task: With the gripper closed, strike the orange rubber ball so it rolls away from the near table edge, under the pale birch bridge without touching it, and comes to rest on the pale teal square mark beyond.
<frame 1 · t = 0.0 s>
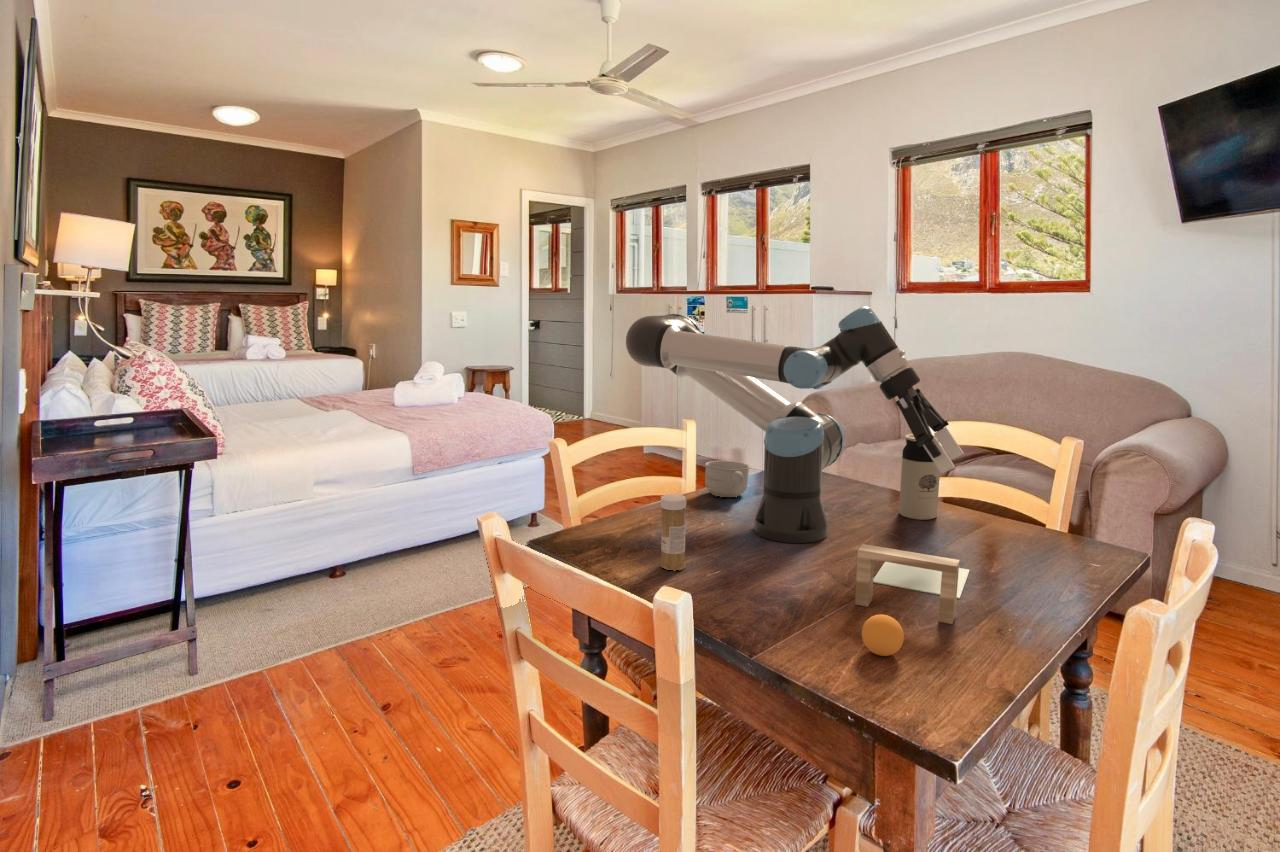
hand: (953, 463, 146), 15 cm above the table, tool tilted 35°, fingers open, 13 cm apart
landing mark: (921, 576, 127), on the table
sprinkles bottle: (673, 568, 132), on the table
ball: (882, 635, 100), on the table
teacup: (728, 497, 178), on the table
travel mug: (917, 516, 162), on the table
bridge: (904, 610, 114), on the table
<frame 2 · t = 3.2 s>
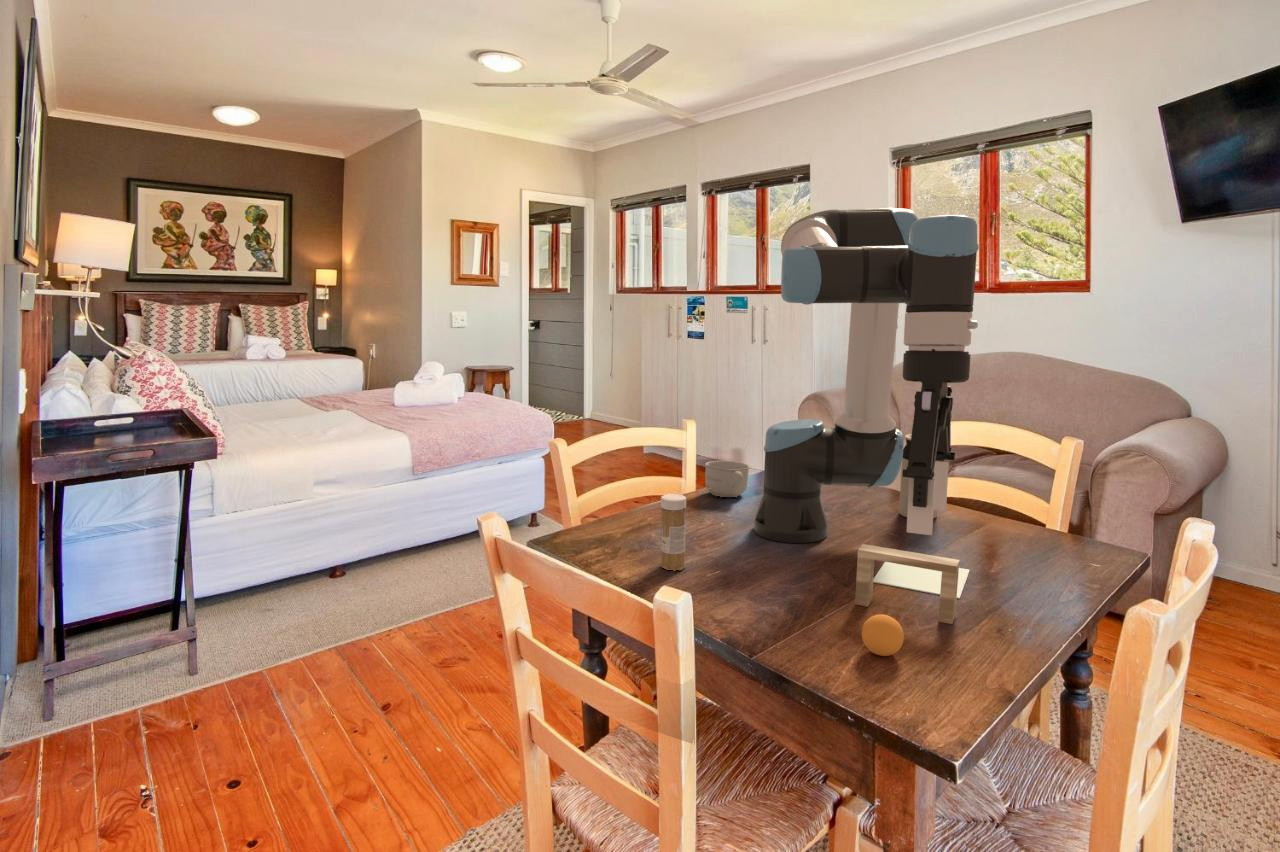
hand: (927, 520, 90), 21 cm above the table, tool pointing down, fingers open, 13 cm apart
nothing on the table moved.
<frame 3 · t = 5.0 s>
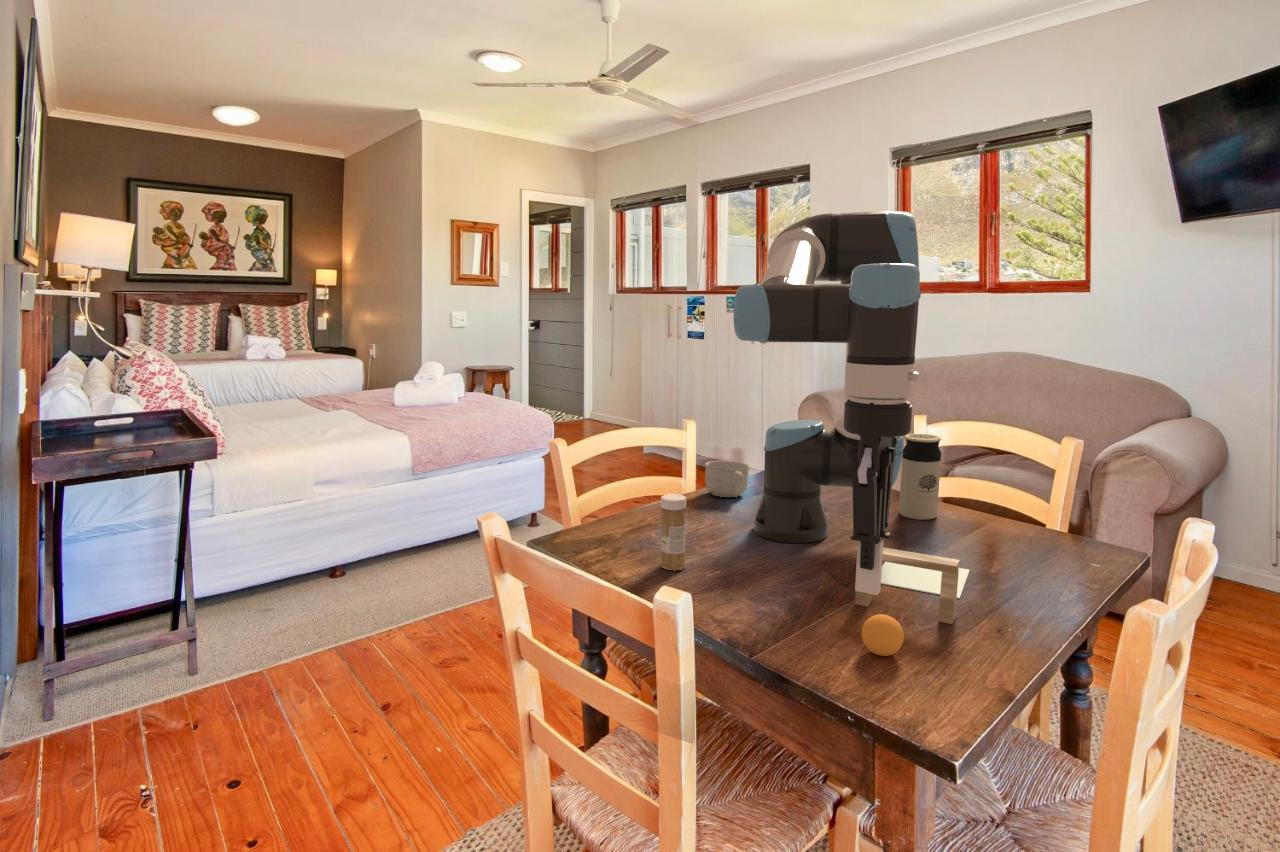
hand: (867, 590, 88), 13 cm above the table, tool pointing down, fingers closed
nothing on the table moved.
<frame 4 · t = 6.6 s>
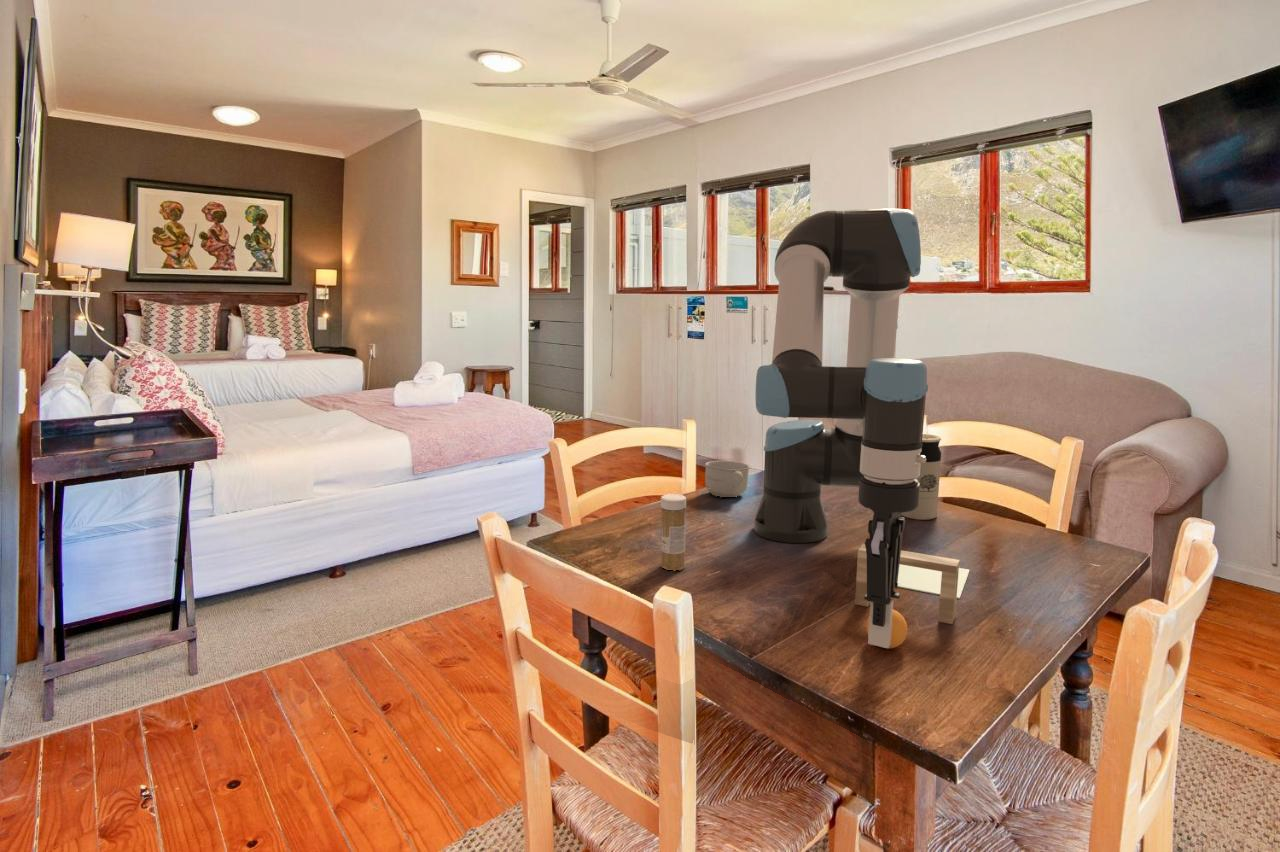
hand: (879, 643, 99), 2 cm above the table, tool pointing down, fingers closed
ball: (886, 627, 102), on the table
everything else where it was.
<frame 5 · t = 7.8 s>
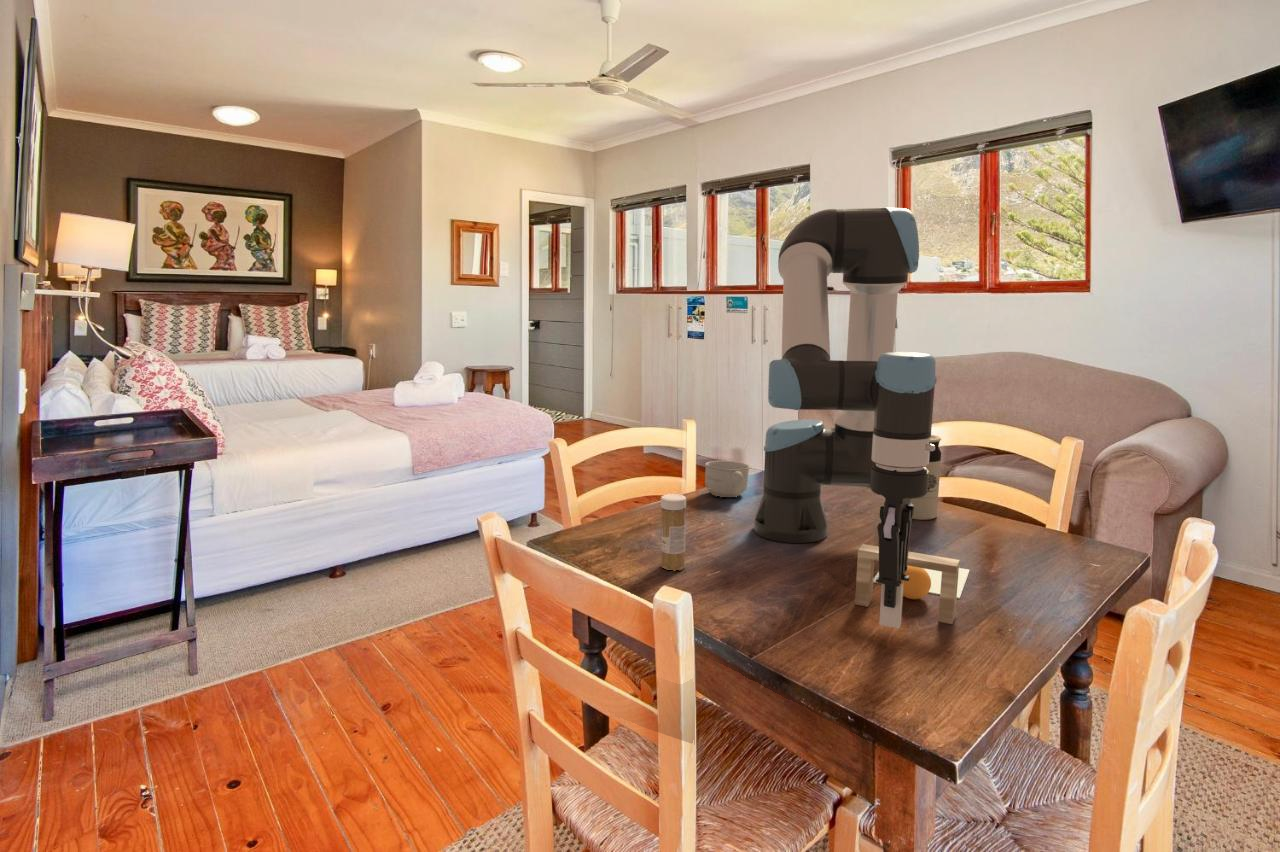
hand: (890, 624, 104), 2 cm above the table, tool pointing down, fingers closed
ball: (912, 581, 118), on the table
everything else where it was.
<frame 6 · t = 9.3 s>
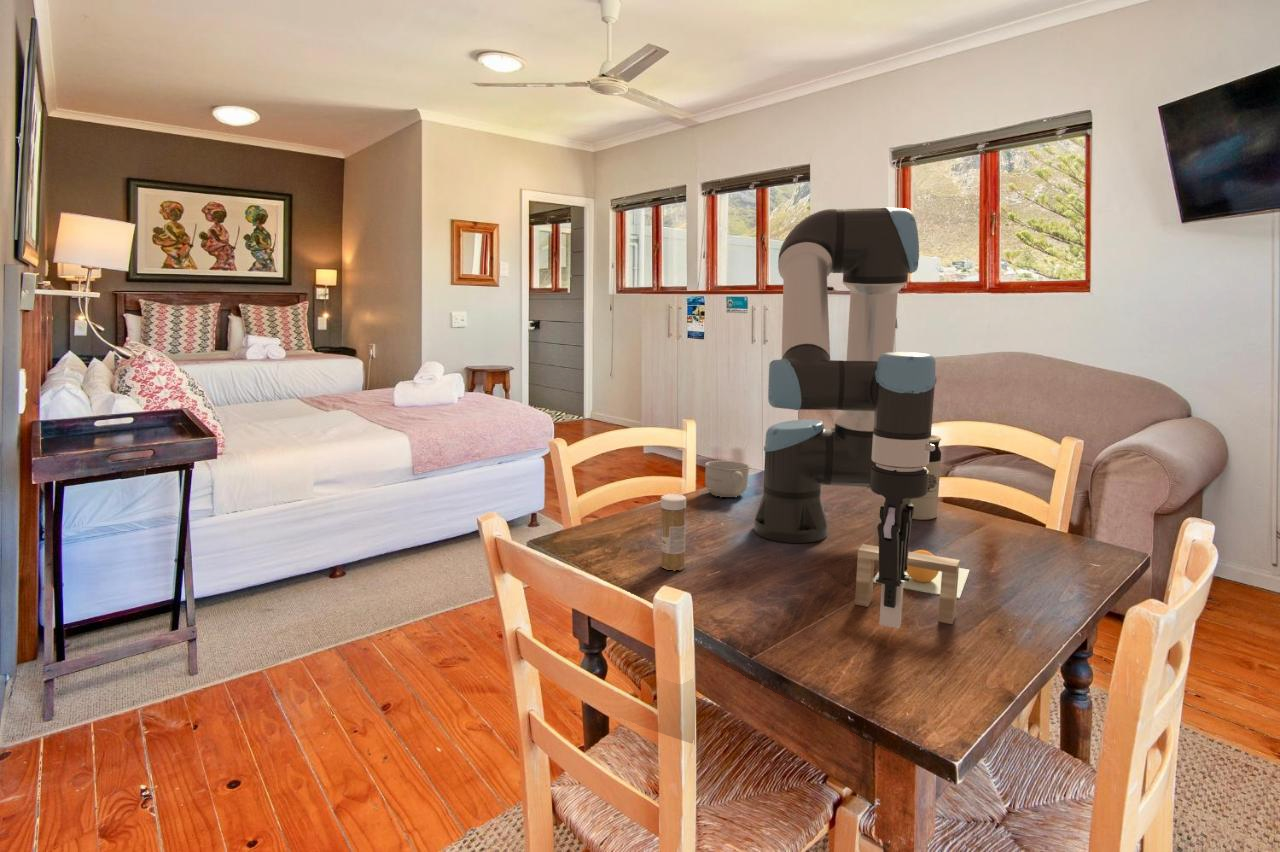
hand: (890, 624, 104), 2 cm above the table, tool pointing down, fingers closed
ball: (922, 566, 125), on the table
everything else where it was.
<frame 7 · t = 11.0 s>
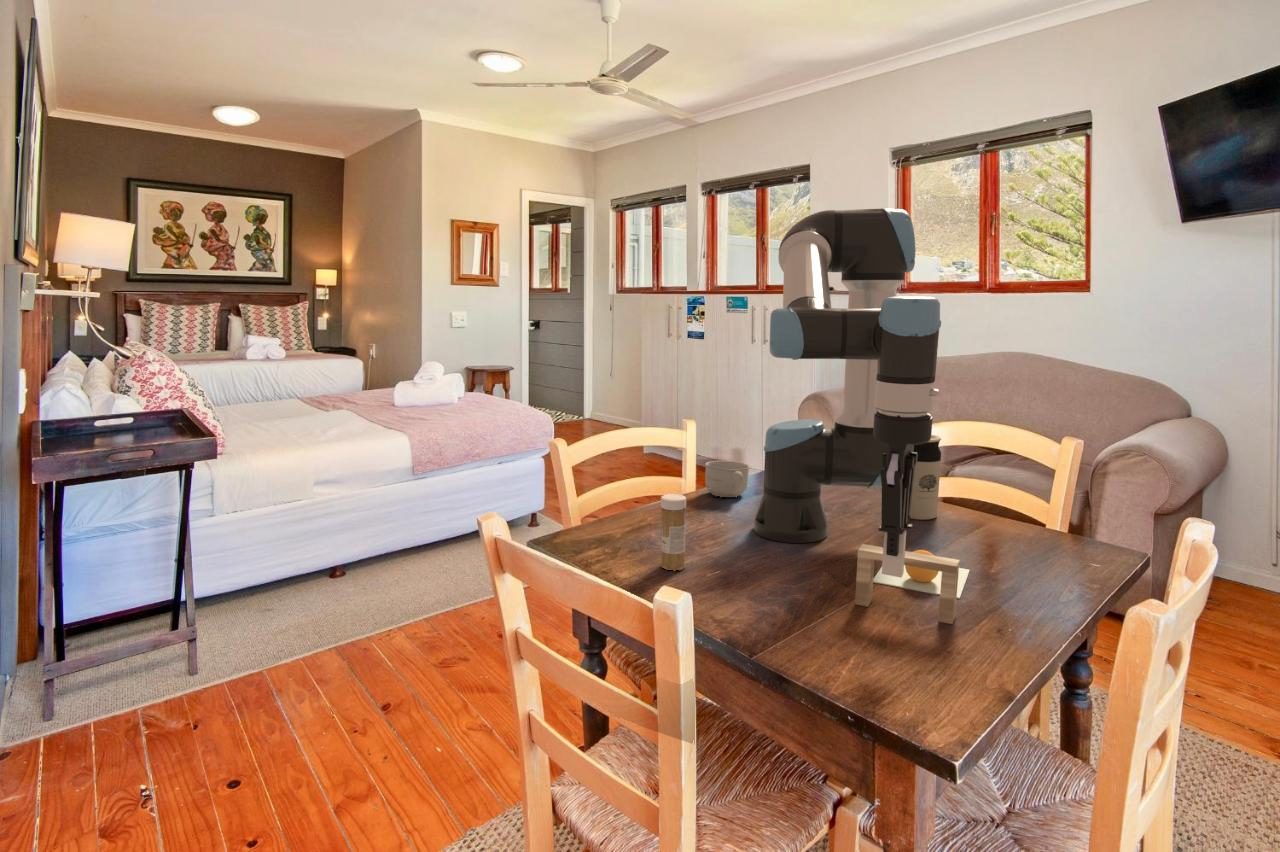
hand: (892, 573, 103), 10 cm above the table, tool pointing down, fingers closed
nothing on the table moved.
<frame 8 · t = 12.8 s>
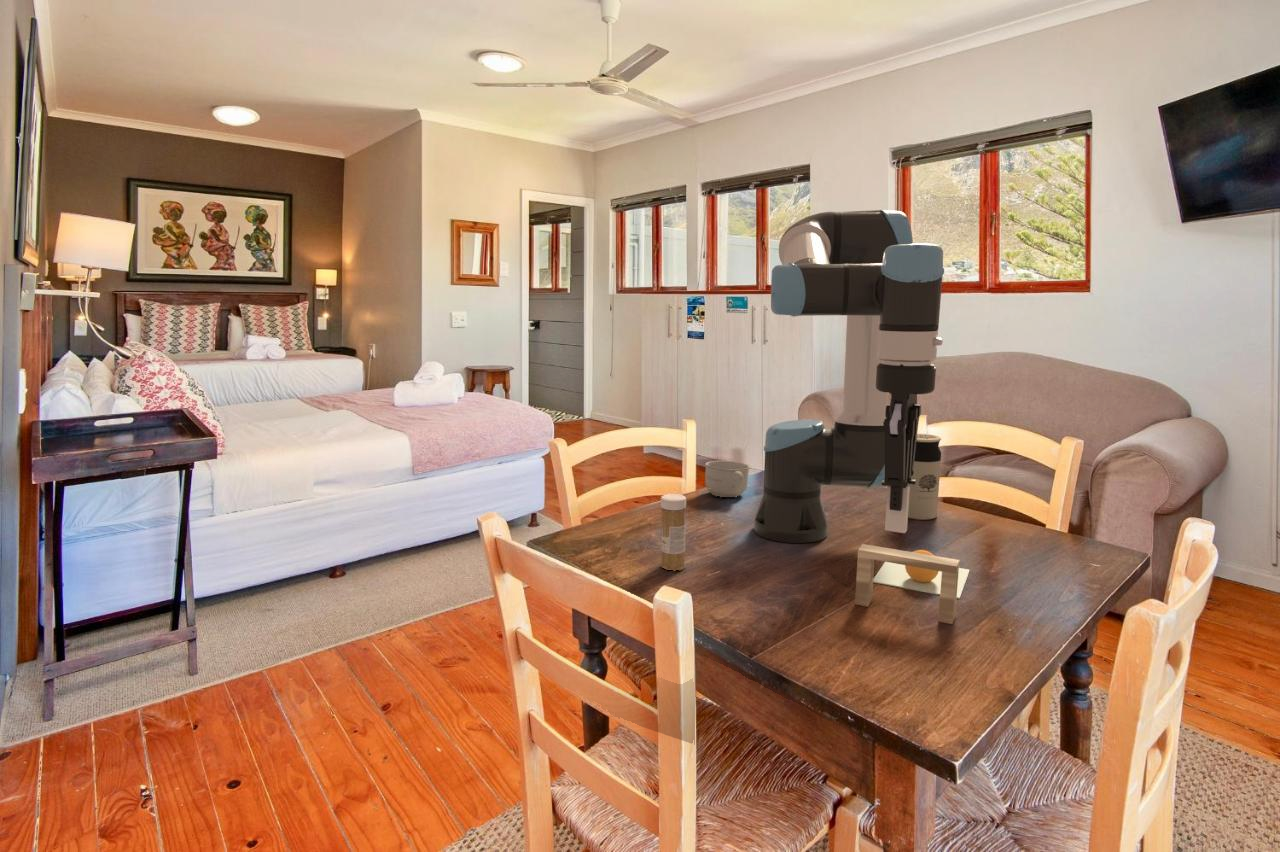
hand: (895, 530, 102), 16 cm above the table, tool pointing down, fingers closed
nothing on the table moved.
at the end: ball 2.4 cm from the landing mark (horizontally); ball never touched bridge; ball at rest at the end (0.0 cm/s) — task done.
